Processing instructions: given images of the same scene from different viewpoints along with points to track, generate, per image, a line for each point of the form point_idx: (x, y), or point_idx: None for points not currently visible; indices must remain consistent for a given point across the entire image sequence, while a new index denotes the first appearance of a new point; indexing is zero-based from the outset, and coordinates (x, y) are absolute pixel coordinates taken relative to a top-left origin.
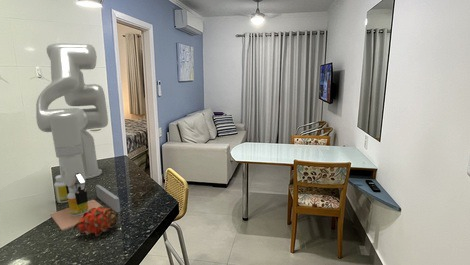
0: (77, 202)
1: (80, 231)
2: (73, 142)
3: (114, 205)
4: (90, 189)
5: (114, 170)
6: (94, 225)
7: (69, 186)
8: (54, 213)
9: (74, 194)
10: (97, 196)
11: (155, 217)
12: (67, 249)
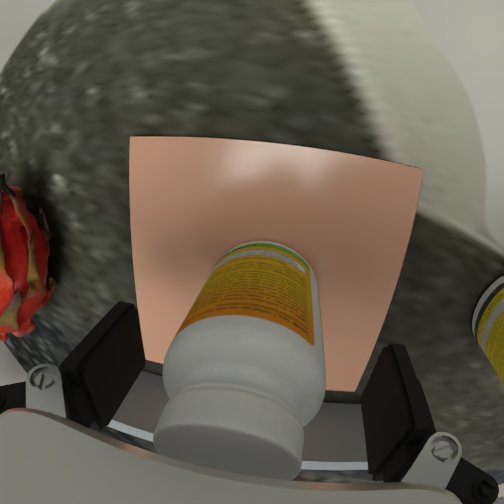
0: (112, 313)
1: (2, 191)
2: None
3: (134, 392)
4: (468, 405)
5: (482, 468)
6: None
7: (11, 411)
8: (404, 189)
9: (181, 374)
10: None
11: None
12: (7, 124)
